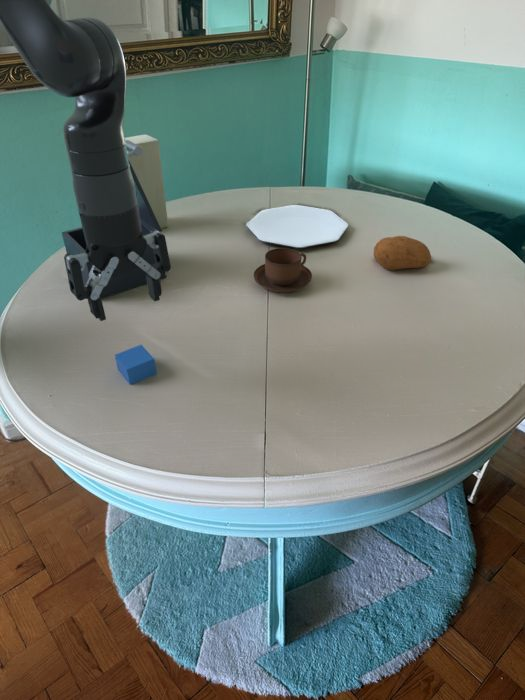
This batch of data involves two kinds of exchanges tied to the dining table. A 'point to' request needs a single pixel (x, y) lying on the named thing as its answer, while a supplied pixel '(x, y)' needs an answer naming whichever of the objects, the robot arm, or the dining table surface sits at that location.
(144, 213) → the freezer lid
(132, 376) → the blue cube
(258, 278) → the cup and saucer
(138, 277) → the box
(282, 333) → the dining table surface
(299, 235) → the plate
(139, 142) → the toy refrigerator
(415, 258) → the potato
